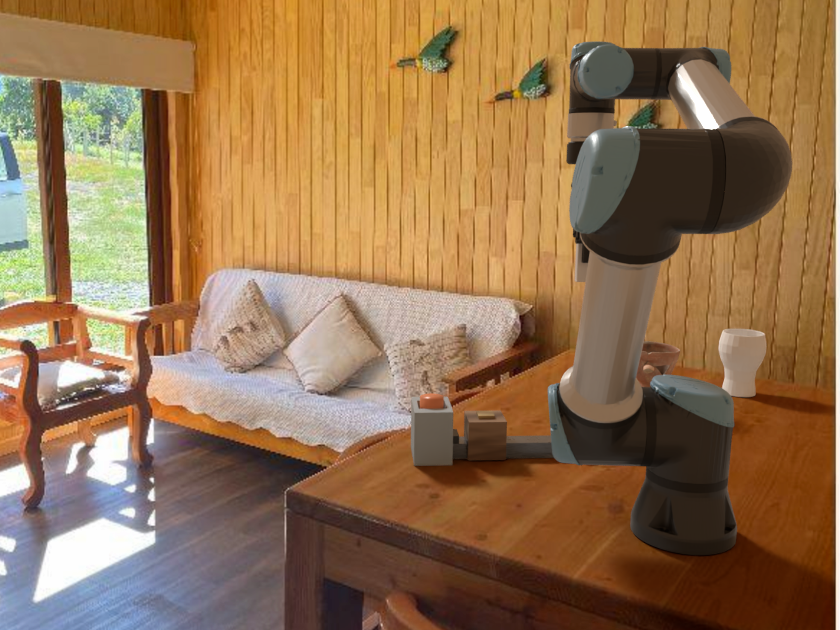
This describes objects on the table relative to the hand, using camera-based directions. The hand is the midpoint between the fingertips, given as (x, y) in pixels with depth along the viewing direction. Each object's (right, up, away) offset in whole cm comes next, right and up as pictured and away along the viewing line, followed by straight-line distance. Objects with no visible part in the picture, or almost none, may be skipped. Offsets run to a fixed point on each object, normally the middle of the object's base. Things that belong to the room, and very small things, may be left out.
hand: (583, 281), depth 140 cm
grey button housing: (-26, -32, +13) cm, 43 cm away
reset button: (-26, -27, +12) cm, 39 cm away
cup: (+49, -25, +58) cm, 80 cm away
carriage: (-16, -32, +14) cm, 39 cm away
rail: (-10, -32, +14) cm, 37 cm away
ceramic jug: (+24, -27, +46) cm, 59 cm away
